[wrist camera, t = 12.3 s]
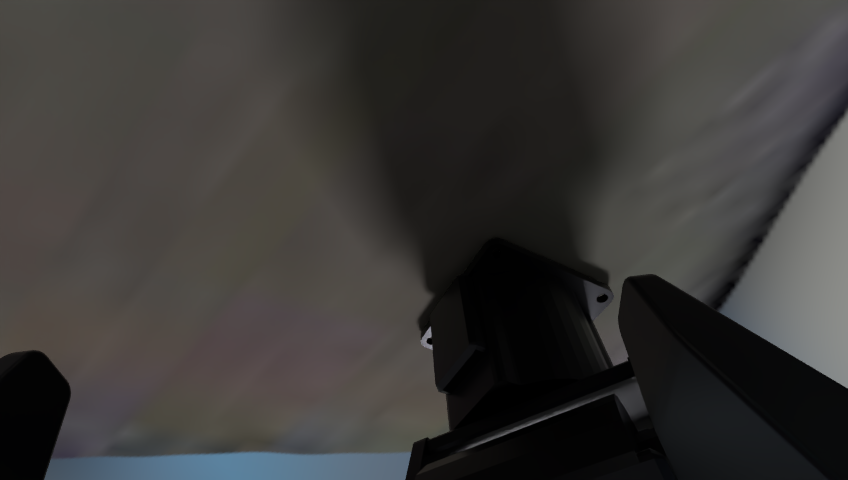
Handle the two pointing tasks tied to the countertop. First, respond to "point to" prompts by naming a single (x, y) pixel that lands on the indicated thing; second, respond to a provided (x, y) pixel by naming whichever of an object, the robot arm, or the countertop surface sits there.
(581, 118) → the countertop surface
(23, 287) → the countertop surface
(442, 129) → the countertop surface
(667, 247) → the countertop surface
